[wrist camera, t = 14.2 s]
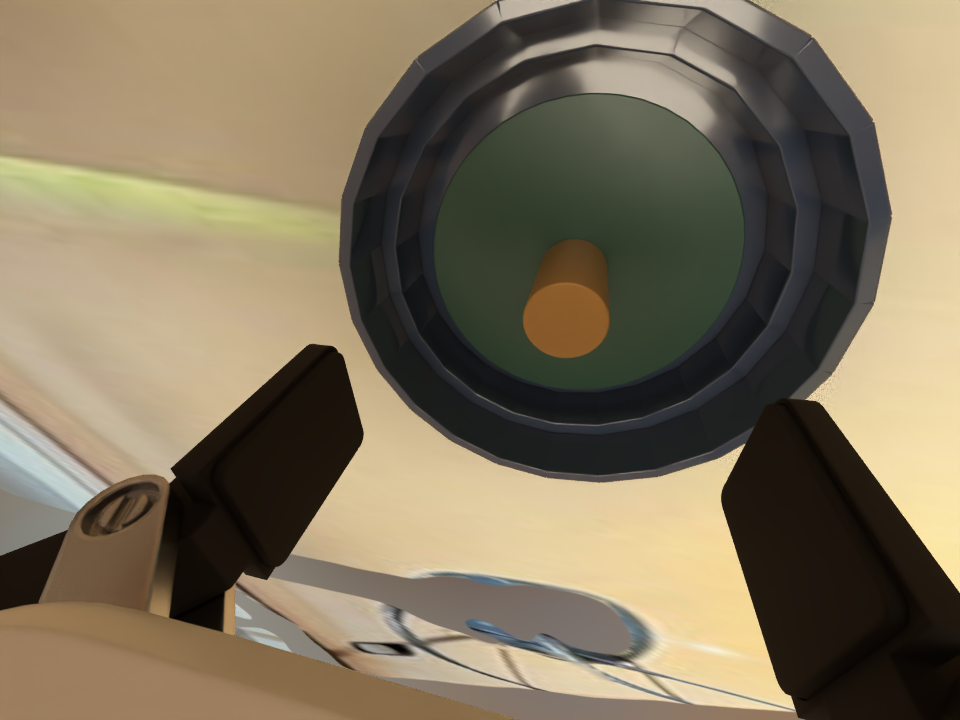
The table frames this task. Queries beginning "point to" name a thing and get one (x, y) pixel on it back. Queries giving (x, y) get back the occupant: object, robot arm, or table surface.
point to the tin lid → (589, 241)
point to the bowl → (760, 181)
